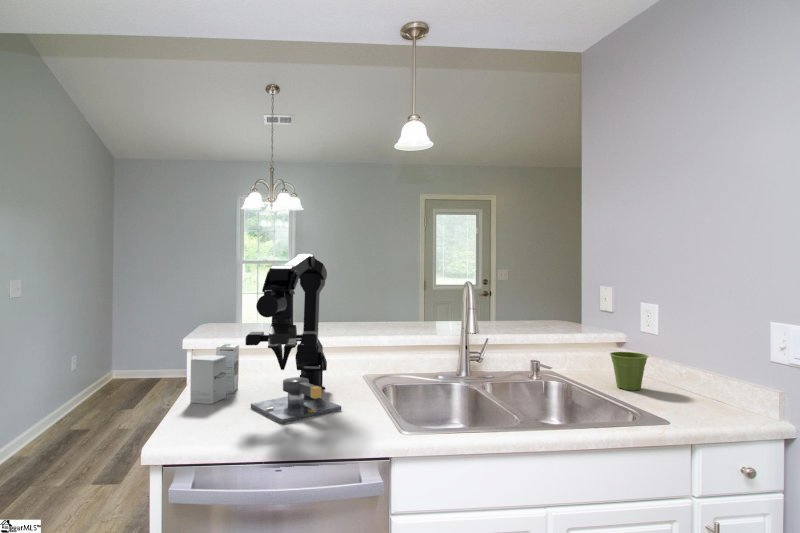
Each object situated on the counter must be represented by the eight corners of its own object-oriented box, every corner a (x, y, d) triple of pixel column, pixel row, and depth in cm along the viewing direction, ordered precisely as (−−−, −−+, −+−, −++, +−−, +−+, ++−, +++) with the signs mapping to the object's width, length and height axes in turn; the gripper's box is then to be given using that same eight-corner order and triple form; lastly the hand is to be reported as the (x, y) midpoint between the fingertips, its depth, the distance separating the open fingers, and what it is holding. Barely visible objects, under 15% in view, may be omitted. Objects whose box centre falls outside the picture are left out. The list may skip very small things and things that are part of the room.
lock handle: (278, 389, 136) (278, 379, 136) (300, 385, 141) (300, 376, 141) (306, 400, 125) (306, 390, 125) (329, 395, 130) (329, 385, 130)
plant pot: (636, 383, 169) (637, 351, 169) (655, 393, 157) (656, 358, 157) (602, 383, 169) (603, 351, 169) (619, 392, 157) (619, 357, 157)
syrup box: (219, 389, 156) (220, 343, 156) (238, 389, 157) (239, 343, 156) (214, 394, 150) (215, 346, 150) (234, 393, 151) (234, 346, 151)
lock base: (306, 396, 149) (307, 379, 149) (341, 410, 135) (341, 391, 135) (250, 407, 137) (250, 389, 136) (282, 424, 123) (282, 403, 123)
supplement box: (212, 404, 139) (213, 360, 139) (189, 402, 141) (189, 359, 141) (227, 397, 147) (227, 355, 146) (204, 396, 148) (204, 354, 148)
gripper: (240, 316, 124) (240, 377, 125) (315, 316, 126) (315, 376, 126) (249, 311, 135) (250, 367, 136) (318, 311, 137) (318, 366, 138)
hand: (282, 369), depth 134 cm, fingers closed
